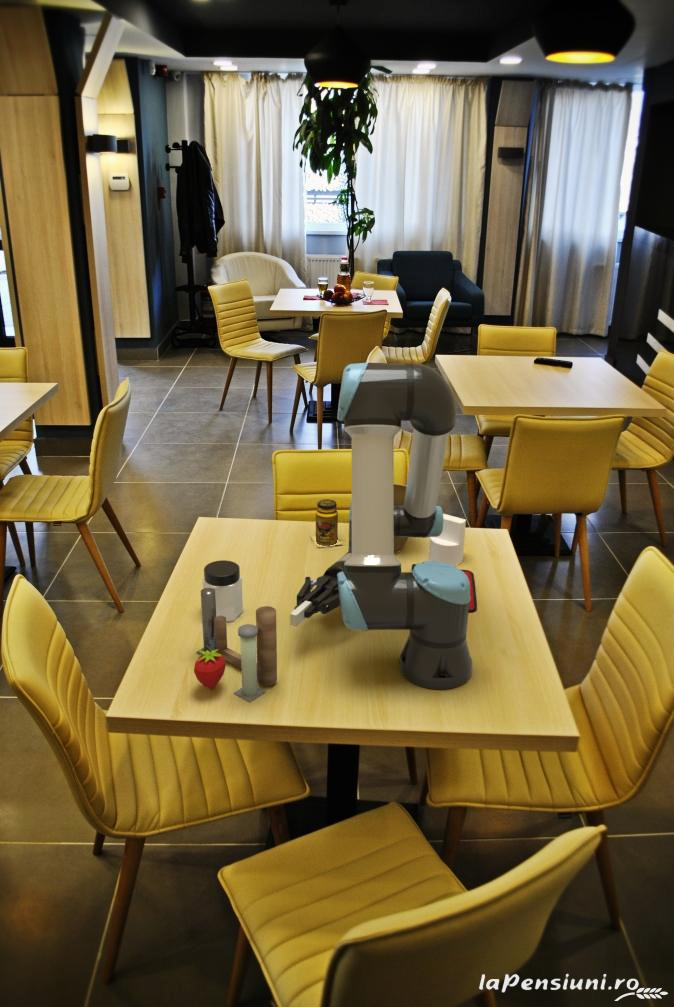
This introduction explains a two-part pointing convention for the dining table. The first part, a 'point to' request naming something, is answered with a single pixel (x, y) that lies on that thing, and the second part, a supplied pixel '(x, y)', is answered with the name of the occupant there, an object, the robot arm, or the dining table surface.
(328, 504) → the condiment
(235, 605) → the jar
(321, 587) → the robot arm
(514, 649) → the dining table surface
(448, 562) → the cylinder with rectangular tab
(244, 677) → the post
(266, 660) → the brown uneven u-shaped piece
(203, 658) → the strawberry
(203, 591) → the hinge post
